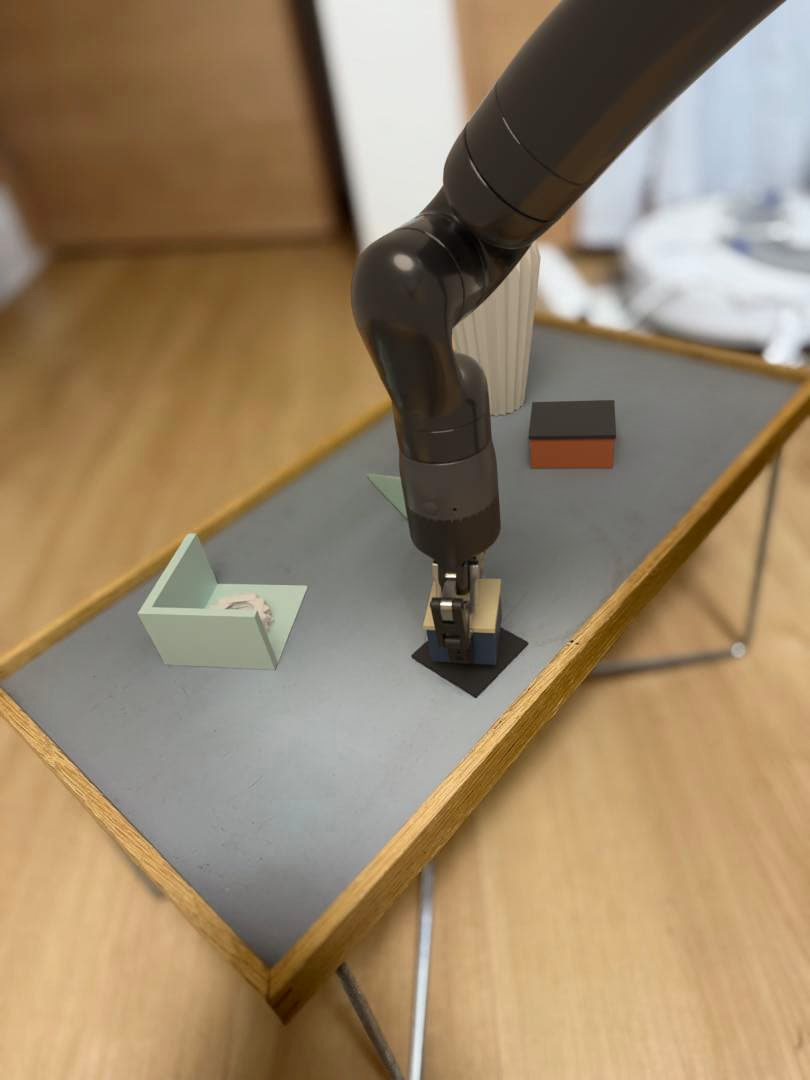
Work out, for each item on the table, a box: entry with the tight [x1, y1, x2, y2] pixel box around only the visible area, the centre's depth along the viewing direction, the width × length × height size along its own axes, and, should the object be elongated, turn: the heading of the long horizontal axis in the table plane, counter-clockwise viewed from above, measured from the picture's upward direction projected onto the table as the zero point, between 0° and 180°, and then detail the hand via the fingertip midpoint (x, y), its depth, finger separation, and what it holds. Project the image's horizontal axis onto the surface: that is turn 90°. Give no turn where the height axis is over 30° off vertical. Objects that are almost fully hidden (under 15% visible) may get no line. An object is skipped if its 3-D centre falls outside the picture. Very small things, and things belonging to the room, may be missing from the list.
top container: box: [422, 577, 503, 665], centre depth 65 cm, size 6×6×5 cm
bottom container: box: [527, 399, 617, 469], centre depth 90 cm, size 10×8×5 cm
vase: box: [452, 240, 542, 418], centre depth 95 cm, size 13×13×26 cm
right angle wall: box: [137, 532, 309, 671], centre depth 73 cm, size 12×12×8 cm
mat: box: [410, 627, 529, 699], centre depth 67 cm, size 8×8×1 cm
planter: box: [366, 473, 408, 521], centre depth 87 cm, size 8×6×18 cm
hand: (467, 631), depth 66 cm, fingers closed on top container, 6 cm apart
